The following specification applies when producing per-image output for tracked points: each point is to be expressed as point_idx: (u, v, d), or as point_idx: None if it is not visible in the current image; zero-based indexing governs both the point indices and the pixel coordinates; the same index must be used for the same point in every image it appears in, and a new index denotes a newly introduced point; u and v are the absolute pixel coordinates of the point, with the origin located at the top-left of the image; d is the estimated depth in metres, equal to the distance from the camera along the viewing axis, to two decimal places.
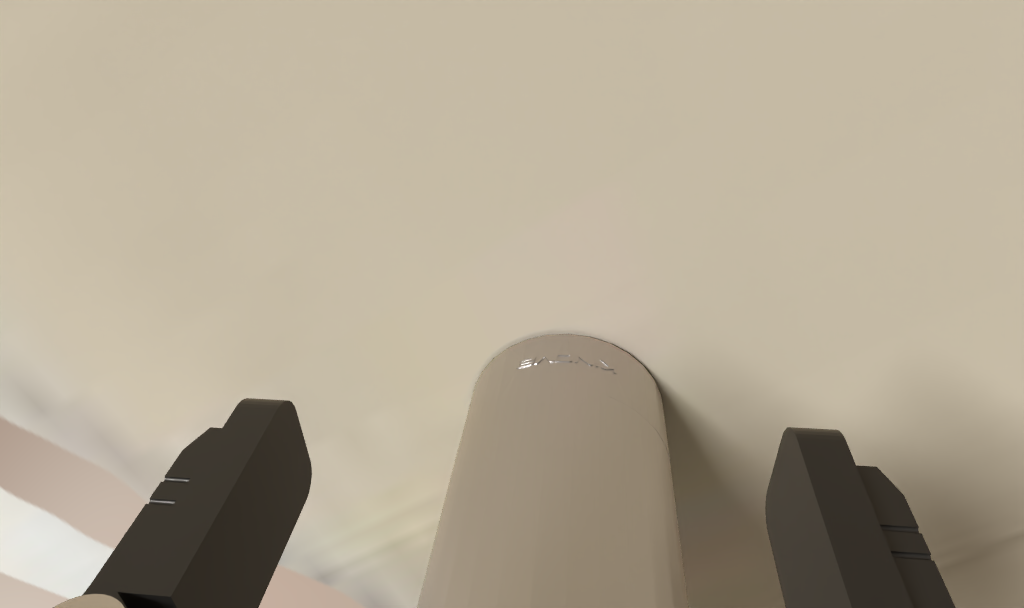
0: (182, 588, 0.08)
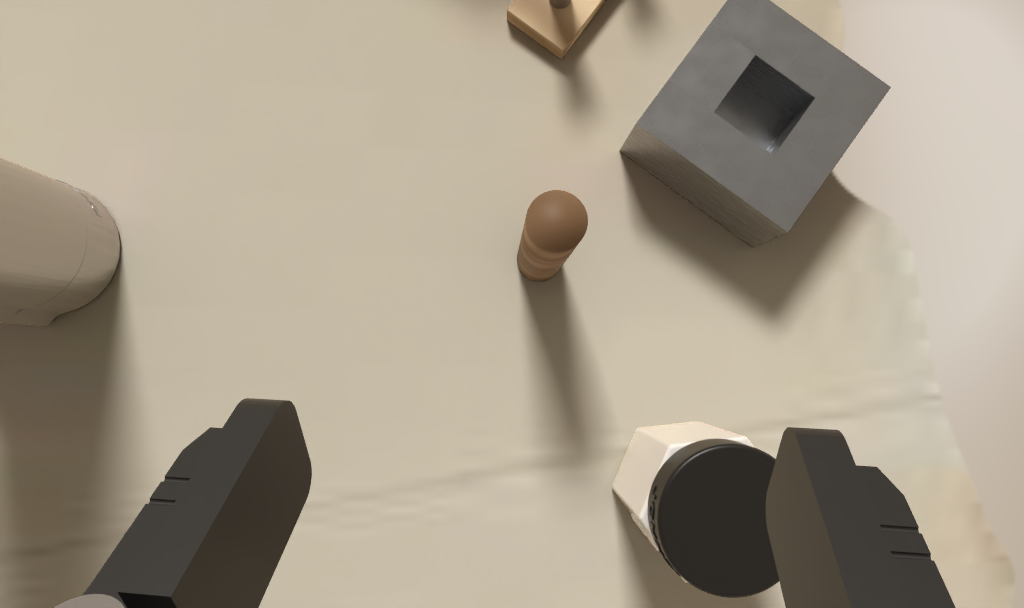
0: (182, 588, 0.08)
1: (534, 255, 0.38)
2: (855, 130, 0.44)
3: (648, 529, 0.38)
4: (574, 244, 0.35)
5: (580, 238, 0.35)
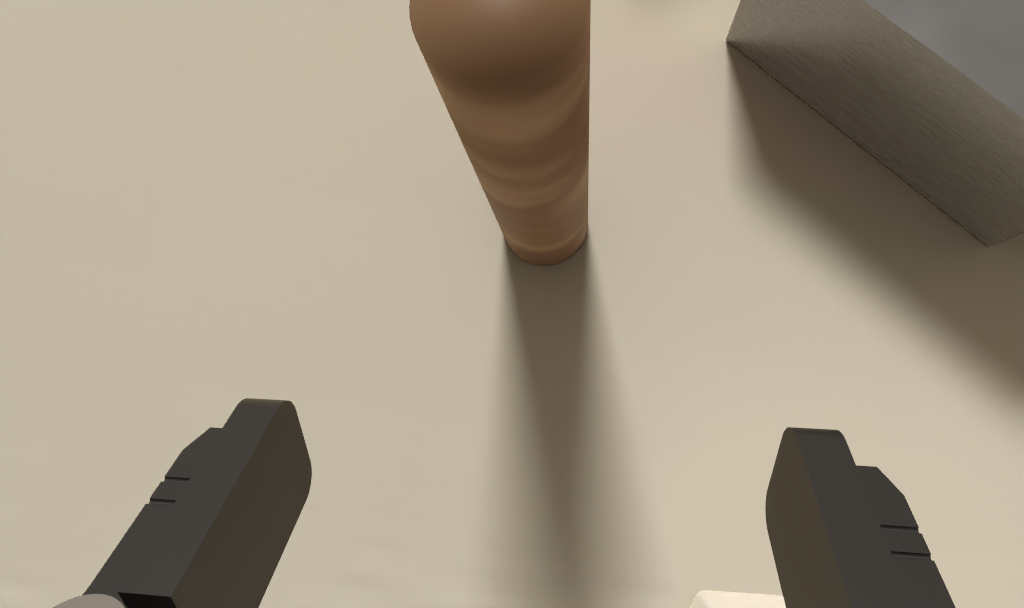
0: (182, 588, 0.08)
1: (468, 145, 0.15)
2: None
3: None
4: (540, 70, 0.12)
5: (560, 54, 0.12)
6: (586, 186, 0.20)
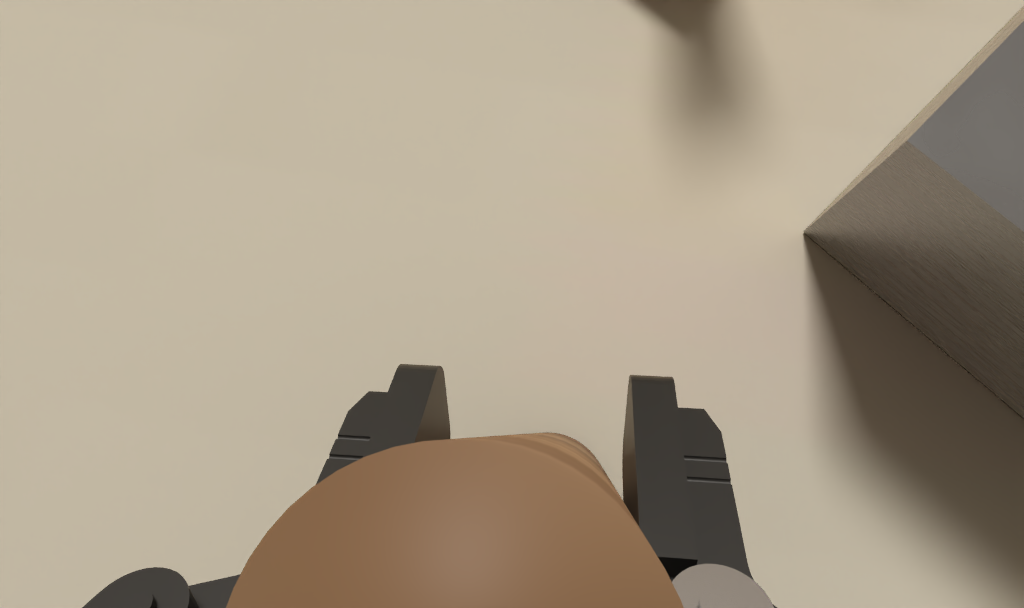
0: None
1: None
2: None
3: None
4: None
5: None
6: None
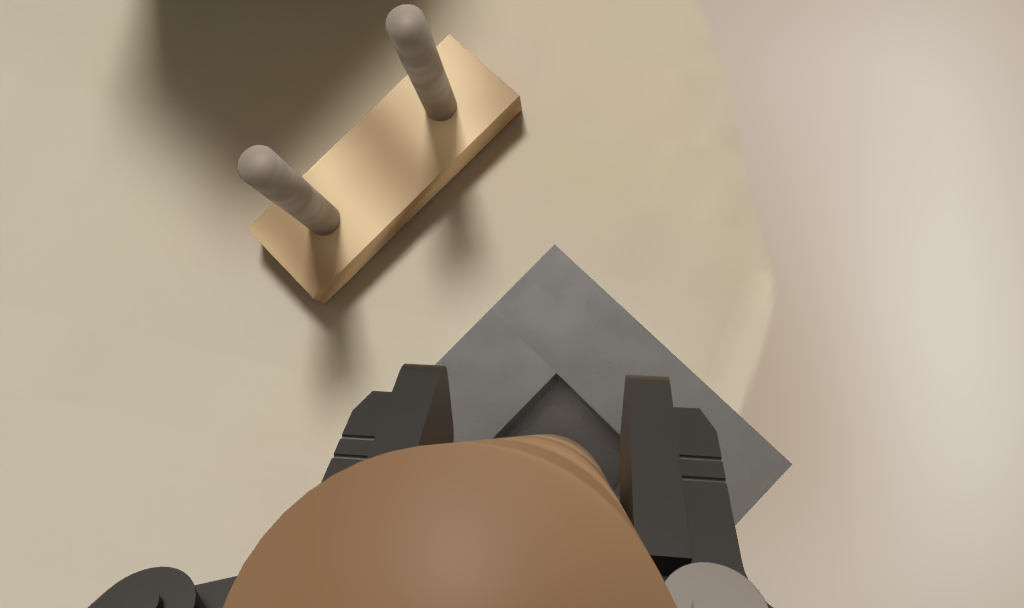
0: None
1: None
2: None
3: None
4: None
5: None
6: None
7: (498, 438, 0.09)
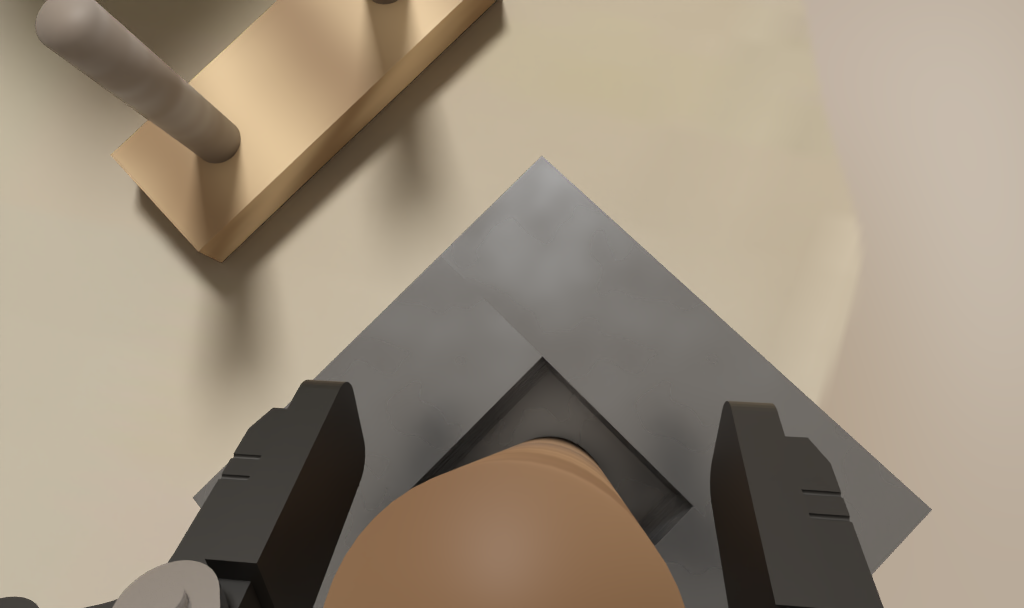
0: (265, 556, 0.09)
1: None
2: None
3: None
4: None
5: None
6: None
7: (520, 448, 0.10)
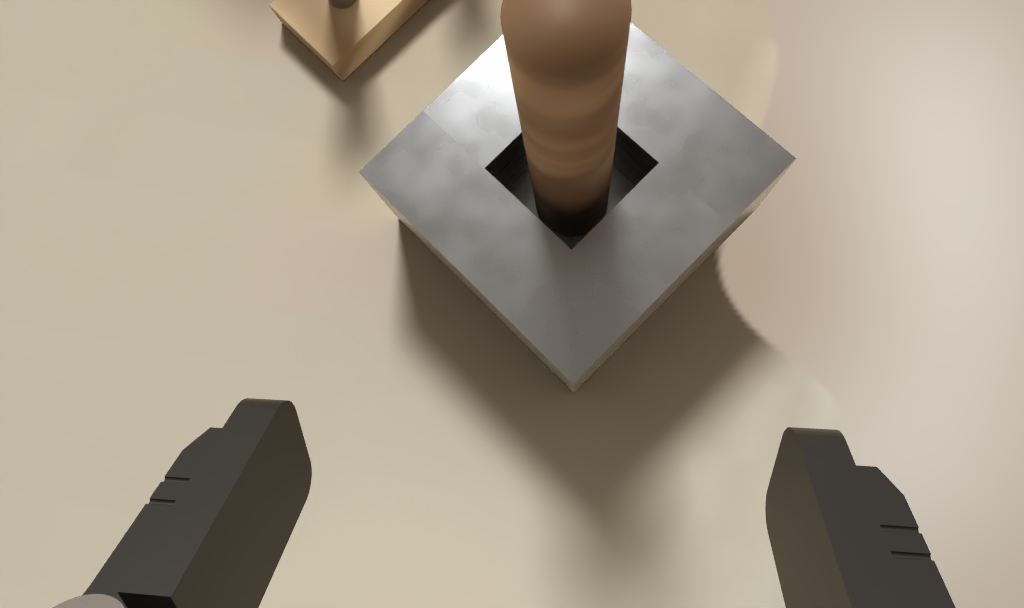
0: (182, 588, 0.08)
1: (529, 122, 0.20)
2: (721, 224, 0.25)
3: None
4: (595, 62, 0.16)
5: (610, 50, 0.16)
6: (612, 164, 0.25)
7: None
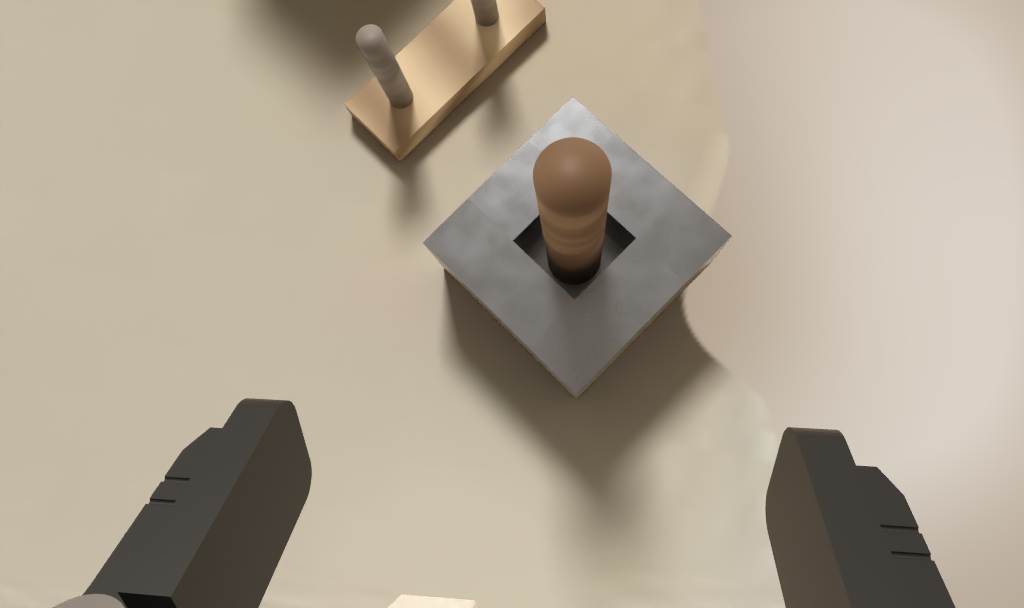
0: (182, 588, 0.08)
1: (548, 227, 0.31)
2: (679, 282, 0.36)
3: None
4: (590, 205, 0.27)
5: (598, 199, 0.27)
6: (602, 241, 0.36)
7: None
